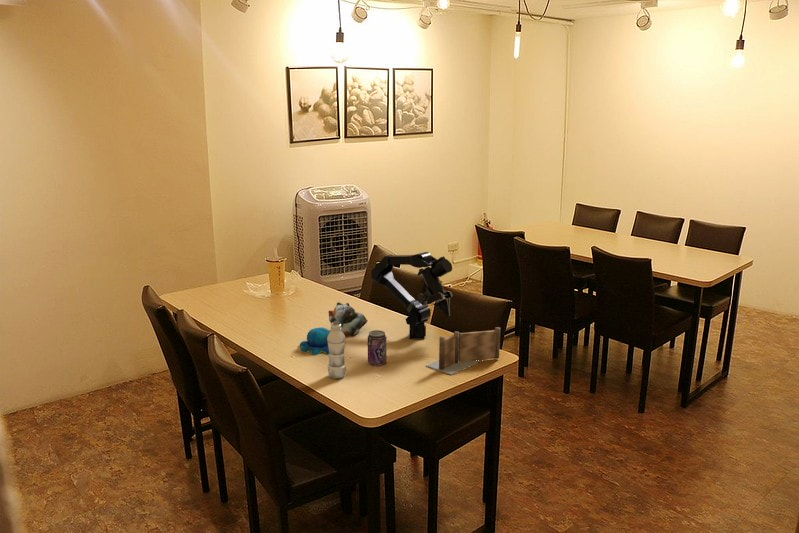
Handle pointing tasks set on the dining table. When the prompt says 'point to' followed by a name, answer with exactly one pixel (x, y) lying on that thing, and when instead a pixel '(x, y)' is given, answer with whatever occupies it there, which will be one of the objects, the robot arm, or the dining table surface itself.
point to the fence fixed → (448, 350)
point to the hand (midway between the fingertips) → (448, 316)
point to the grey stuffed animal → (347, 319)
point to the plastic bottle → (336, 351)
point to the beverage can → (377, 347)
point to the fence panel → (479, 345)
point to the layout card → (453, 366)
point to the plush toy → (316, 341)
